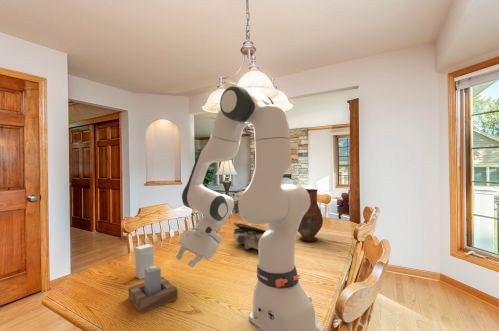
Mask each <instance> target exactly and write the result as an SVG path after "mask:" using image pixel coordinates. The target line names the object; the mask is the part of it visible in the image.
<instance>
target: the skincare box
mask: <svg viewBox="0 0 499 331" xmlns="http://www.w3.org/2000/svg"><path fill="white" fill-rule="evenodd" d="M154 258H155V257H154V245H153V244H150V243H146V244H142V245H139V246H136V247H134V267H135V268H134V269H135V272H134V273H135V277H136V278H137V279H139V280H142V279H145V278H144V268H148V267H151V266H155V264H154V263H155V259H154Z"/></svg>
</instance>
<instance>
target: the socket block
mask: <svg viewBox="0 0 499 331" xmlns="http://www.w3.org/2000/svg"><path fill="white" fill-rule="evenodd" d="M128 299H129V301H131V302H132V304H133V306H135V309H137V310H138V311H139V313H140V314H143V313H145V312H149V311H150V310H152V309H153V310H154V309H156V308H158V307H160V306H163V305H165V304H167V303H171V302H173V301H176V300H177V299H178V288H177V286H175V285H174V284H172V283H171V282H170V281H168V280H167V279H166V278H165V277H164V276H161V291H158V292H156V293H153V294H150V295H147V296H146V295H145V281H144V282H142V283H138V284H136V285H132V286H129V287H128Z"/></svg>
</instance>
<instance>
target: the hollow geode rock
mask: <svg viewBox="0 0 499 331" xmlns="http://www.w3.org/2000/svg"><path fill="white" fill-rule="evenodd" d="M233 224H234V226H235V227H236V228H235V229H233V233H232V234H233V239H234V241H235V242H236V243H237V244H239V245H244V248H245V249H246V250H249V249H252V248H253V249H256V250H257V251H258V243H259V239H260V237H261V236H262V235H263V234H264V232H265V231H266V230H267V229H266V230H265V229H263V228H258V227H255V226H250V225H247V224H244V223H240V222H239V223H235V222H234V223H233Z"/></svg>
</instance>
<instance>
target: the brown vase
mask: <svg viewBox="0 0 499 331" xmlns="http://www.w3.org/2000/svg"><path fill="white" fill-rule="evenodd" d="M305 189H306V190H307V192H308V193H309V196H310V207H309V209H308V211H307V212H306V213H305V214H304V216H303V218H302V220H301V222H300V225H299V228H298V231H297V233H298V234H300V237H299V238H298V239H299V241H301V242H303V243H314V242H317V241H318V237H317V236H316V235H317V234H318V233H319V232H320V230H321V228H322V227H323V223H324V220H323V215H322V212H321V209H320V207H319V203H318V191H319V189H314V188H313V189H312V188H309V189H308V188H305Z"/></svg>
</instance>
